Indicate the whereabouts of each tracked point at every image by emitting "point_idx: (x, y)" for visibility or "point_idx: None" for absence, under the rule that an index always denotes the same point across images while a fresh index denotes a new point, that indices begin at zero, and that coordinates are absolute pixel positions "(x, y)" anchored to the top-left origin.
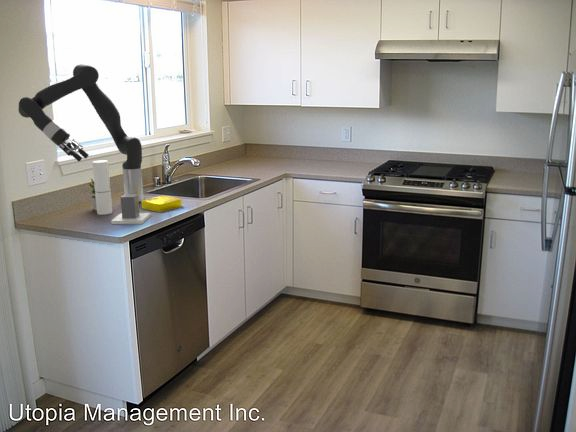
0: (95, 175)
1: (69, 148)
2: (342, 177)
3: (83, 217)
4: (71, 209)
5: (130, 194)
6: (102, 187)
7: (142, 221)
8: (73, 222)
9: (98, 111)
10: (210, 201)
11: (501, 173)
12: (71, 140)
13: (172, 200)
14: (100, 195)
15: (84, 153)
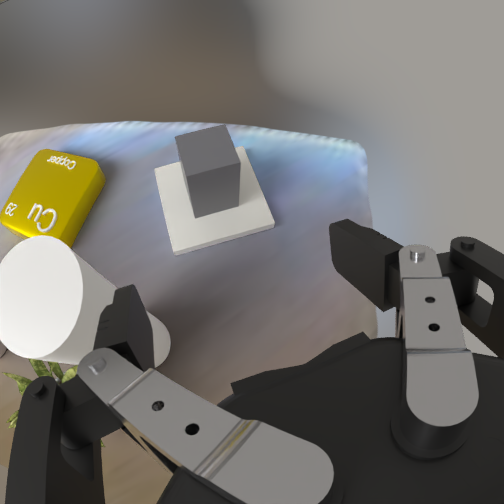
0: None
1: (497, 264)
2: None
3: (225, 379)
4: (138, 490)
5: (188, 153)
6: None
7: (240, 148)
8: (298, 365)
9: None
10: (13, 135)
11: None
12: (315, 499)
13: (58, 156)
14: (151, 324)
15: (138, 322)
